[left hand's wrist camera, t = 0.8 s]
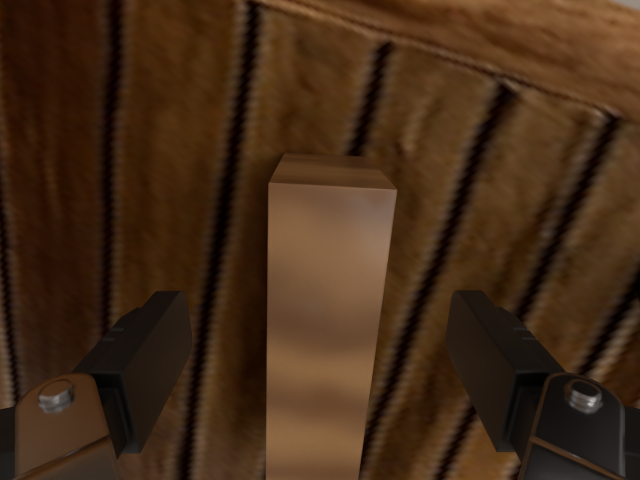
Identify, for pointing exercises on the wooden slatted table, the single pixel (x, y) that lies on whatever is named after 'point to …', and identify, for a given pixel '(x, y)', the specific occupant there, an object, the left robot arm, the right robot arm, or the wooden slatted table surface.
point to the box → (323, 310)
